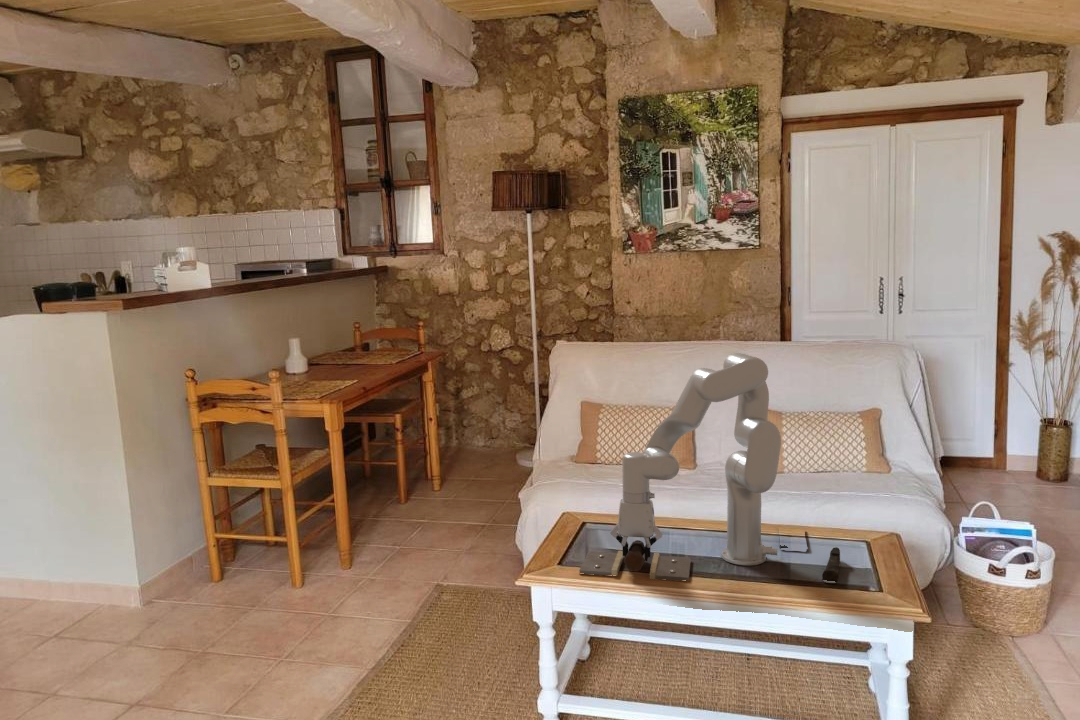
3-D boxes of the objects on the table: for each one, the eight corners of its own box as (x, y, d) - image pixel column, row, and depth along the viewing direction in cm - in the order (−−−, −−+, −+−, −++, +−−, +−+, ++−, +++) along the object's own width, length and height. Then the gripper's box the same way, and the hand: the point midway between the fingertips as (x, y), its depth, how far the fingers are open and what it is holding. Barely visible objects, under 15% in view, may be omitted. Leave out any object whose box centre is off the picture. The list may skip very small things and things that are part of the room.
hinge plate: (690, 561, 230) (690, 555, 230) (688, 581, 215) (688, 574, 215) (588, 555, 237) (588, 548, 236) (579, 574, 222) (579, 567, 222)
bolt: (641, 557, 233) (636, 575, 218) (626, 548, 233) (620, 565, 219) (651, 541, 232) (647, 557, 217) (636, 532, 232) (630, 548, 218)
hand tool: (837, 586, 211) (838, 569, 211) (821, 583, 213) (822, 566, 213) (846, 562, 228) (847, 546, 227) (831, 560, 230) (832, 544, 229)
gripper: (667, 494, 225) (667, 555, 227) (607, 491, 229) (608, 552, 231) (665, 501, 218) (665, 565, 220) (604, 499, 222) (604, 561, 224)
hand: (636, 558), depth 226 cm, fingers closed on bolt, 5 cm apart
